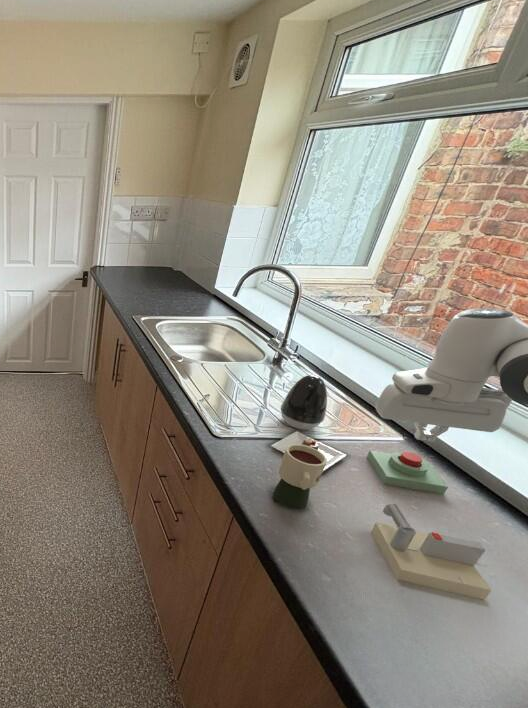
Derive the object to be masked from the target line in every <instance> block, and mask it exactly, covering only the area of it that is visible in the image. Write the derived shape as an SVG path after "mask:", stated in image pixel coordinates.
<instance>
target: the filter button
mask: <svg viewBox="0 0 528 708" xmlns="http://www.w3.org/2000/svg"><path fill="white" fill-rule="evenodd" d="M401 453H402V454H401V456H400V458H399V461H401V462H402V463H404V464H406V465H408V466H411V467H419V466H420V464H421V462H422V459H423V458H422V457H421V456H420V455H419V454H417V453H414V452H411V451H403V452H401Z"/></svg>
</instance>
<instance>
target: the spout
mask: <svg viewBox="0 0 528 708" xmlns="http://www.w3.org/2000/svg"><path fill="white" fill-rule="evenodd" d="M382 512H383V514H385V515H386V516H387V517H389V518H391V519H392V521H393V522H394V525H395V526H397V527H398V530H397V532H396V533H395V535H394V537H393V539H392V541H391V542H390V544H391V546H392V547H393V548H394V549H396V550H398V551H406V549H407V547H408V546H409V544H410V542H411V541H412V539H413V537H414V535H415V534H416V531H417V530H416V531H415V529H414V528H413V527H412V526H411V525H410V523H409V521H408V520H407V518H406V517H405V515H404V513H403V512H402V510H401V508H400V507H399V506H398V505H397V504H395V503H389V504H386V505H384V507H383V509H382Z"/></svg>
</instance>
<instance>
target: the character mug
mask: <svg viewBox="0 0 528 708" xmlns="http://www.w3.org/2000/svg"><path fill="white" fill-rule="evenodd" d="M326 462H327V458H326V457H325V455H324V454H322V453H321V452H320V451H318V450H316V449H314V448H312V447H309V446H306V445H301V444H293V445H289V446H288V447H287V448H286V450H285V453H283V456H282V459H281V462H280V465H279V469H278V475H279V477H280V480H279V481H278V483H277V485H276V486H275V488H274V490H273V492H272V499H273V500H275V501H276V502H277V504H280V505H283V506H284V507H287V508H290V509H293V510H302V509H306V508H307V506H308V501H309V497H310V492H311V491H310V490H311V489H312V488H315V487H317V486H318V485H319V484H320V480H321V477H322V473H324V471H325V470H324V468H325V465H326Z"/></svg>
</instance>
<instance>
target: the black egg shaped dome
mask: <svg viewBox="0 0 528 708" xmlns="http://www.w3.org/2000/svg"><path fill="white" fill-rule="evenodd" d="M327 408H328V390H327V386H326V384H325V382H324V380H323V379H322V378H321V377H320V376H317V375H315V374H307V375H305V376H303V377H301V378H300V379H299V380H298V381H296V382H295V383H294V385H293V386H292V387H291V388H290V390H289V391H288V393H287V394H286V396H285V397H284V400H282V402H281V405H280V411H281V418H282V420H283V421H284V422H285V423H286V424H287V425H288V426H290V427H292V428H294V429H297V430H298V429H299V430H303V431H305V430H307V431H308V430H313V429H315V428H317V427H318V426H320V424H321V423H323V422H324V420H325V419H326V413H327Z"/></svg>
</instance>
